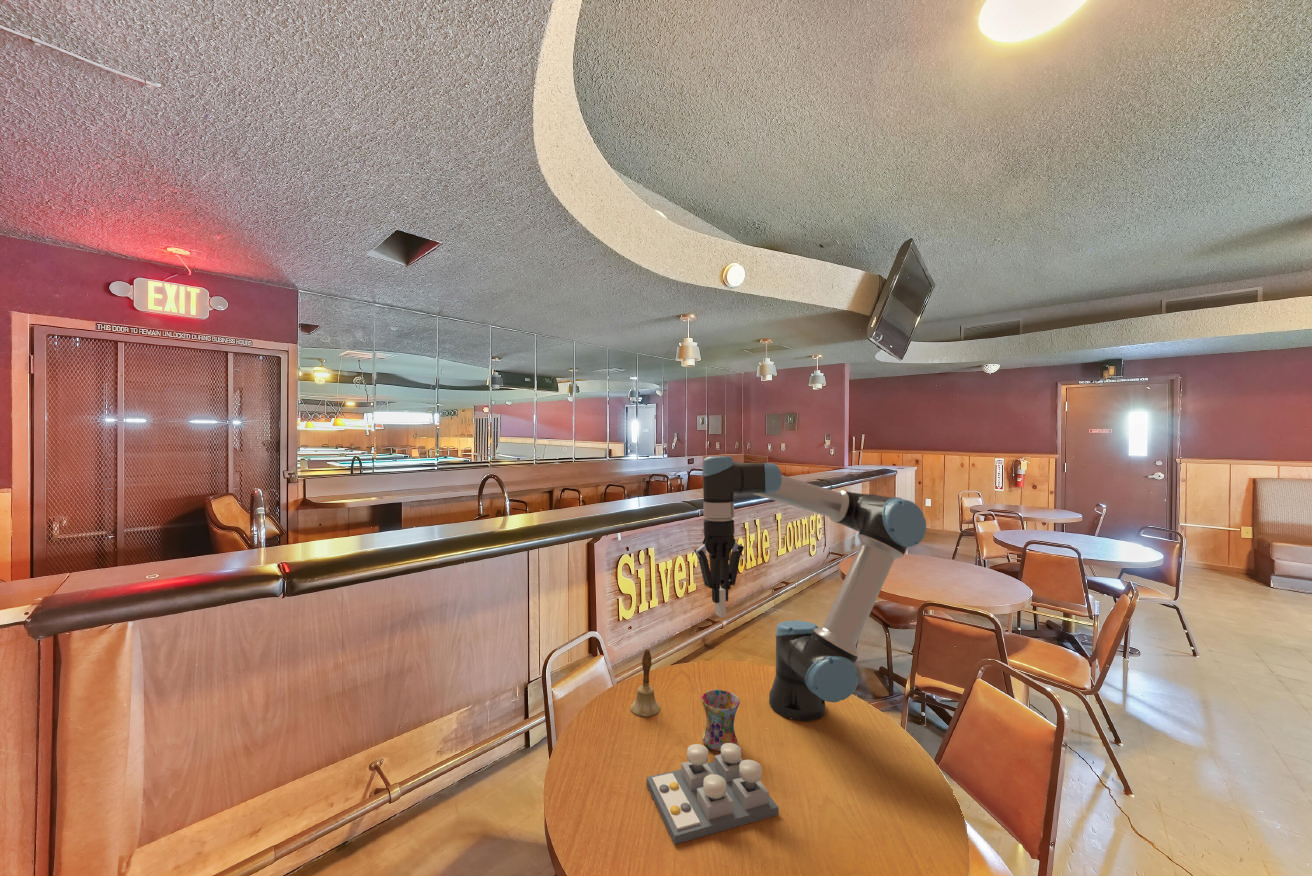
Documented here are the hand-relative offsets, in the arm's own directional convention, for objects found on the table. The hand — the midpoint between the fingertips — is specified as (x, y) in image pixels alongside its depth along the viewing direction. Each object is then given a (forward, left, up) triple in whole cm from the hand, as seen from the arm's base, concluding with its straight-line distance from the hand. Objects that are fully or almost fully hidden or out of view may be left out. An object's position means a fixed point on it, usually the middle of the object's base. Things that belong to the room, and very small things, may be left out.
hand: (720, 615), depth 114 cm
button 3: (+11, +11, -28) cm, 32 cm away
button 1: (+3, +11, -29) cm, 31 cm away
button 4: (+11, +19, -29) cm, 36 cm away
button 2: (+3, +19, -28) cm, 34 cm away
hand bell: (+12, -21, -31) cm, 39 cm away
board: (+10, +15, -31) cm, 36 cm away
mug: (-1, -2, -31) cm, 31 cm away
